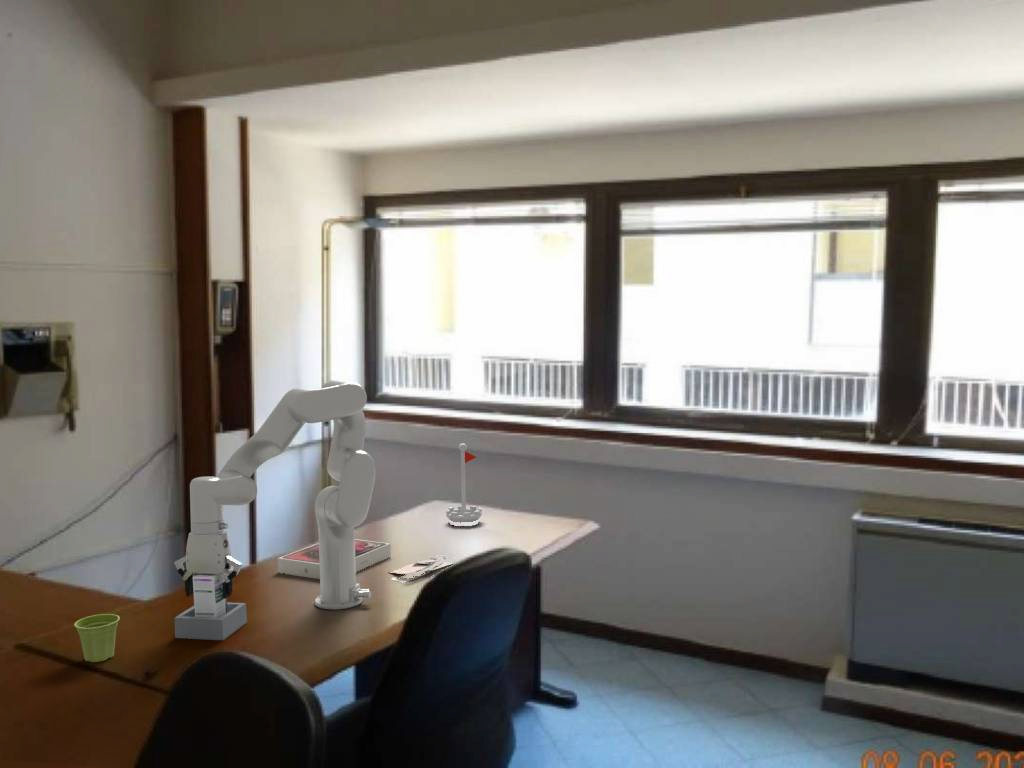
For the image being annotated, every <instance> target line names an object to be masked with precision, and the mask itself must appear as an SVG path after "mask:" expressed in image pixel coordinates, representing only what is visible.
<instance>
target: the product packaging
mask: <svg viewBox="0 0 1024 768" xmlns="http://www.w3.org/2000/svg"><path fill="white" fill-rule="evenodd" d="M391 553H392V552H391V543H390V542H389V543H388V542H382V541H373V540H367V539H366V540H364V539H357V538H355V560H356V573H358V572H360V570H361V571H363V570H365V569H367V568H366V567H368V566H370V567H372V566H374V565H376V564H375V563H377V562H379V561H381V560H383V559H385V558H387V557H389V556H392V554H391ZM383 561H384V560H383ZM381 562H382V561H381ZM379 563H380V562H379ZM373 564H374V565H373ZM377 564H378V563H377ZM371 565H372V566H371ZM364 568H365V569H364ZM368 568H369V567H368ZM362 569H363V570H362ZM357 571H358V572H357ZM278 572H280V573H279V574H283V573H285V574H284V575H289V574H290V575H291V576H297V577H302V578H303V577H304V578H309V579H310V578H311V579H315V580H316V579H318V580H320V558H319V542H318V543H314V544H312V545H310V546H307V547H305V548H301V549H299V550H296V551H293V552H291V553H288V554H285V555H283V556H280V557H278V558H277V573H278Z"/></svg>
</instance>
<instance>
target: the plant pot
mask: <svg viewBox="0 0 1024 768" xmlns="http://www.w3.org/2000/svg"><path fill="white" fill-rule="evenodd" d="M120 618H121V617H120V616H119V615H117V614H113V613H112V614H111V613H103V614H102V613H101V614H93V615H89V616H86V617H83V618H80V619H78V620H77V621H75V622H74V624H73V625H74V628H76V632H77V633H78V635H79V641H80V644H81V648H82V654H83V658H84V661H86V662H90V663H99V662H103V661H107V660H108V659H109V658H113V657H114V656H115V646H116V634H117V627H118V624H119V621H120V620H121V619H120Z"/></svg>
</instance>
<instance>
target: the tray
mask: <svg viewBox="0 0 1024 768" xmlns="http://www.w3.org/2000/svg"><path fill="white" fill-rule="evenodd" d="M227 611H228V613H227V614H225V615H224V616H222V617H221V618H209V617H195V608H194V605H192V606H191V607H189V608H188V609H185V610H184V611H183V612H181V613H179V614H178V615H176V616H175V617H174V635H175V636H174V637H175V639H186V638H187V639H189V640H191V639H192V640H209V641H211V640H212V641H224V640H226V639H227V638H228V637H230V636H231V635H232V634H234V633H235V632H236V631H238V630H239V629H241V628H242V627H243V626H244V625H245V624H247V623H248V615H247V614H248V613H247V603H245V602H230V601H229V602H228V601H227Z"/></svg>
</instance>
